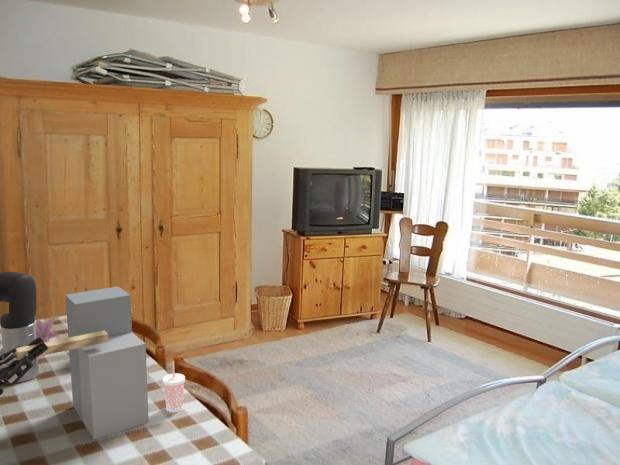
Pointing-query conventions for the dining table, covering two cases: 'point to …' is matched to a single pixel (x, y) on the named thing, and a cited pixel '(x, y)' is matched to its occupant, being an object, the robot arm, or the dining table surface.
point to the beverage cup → (174, 391)
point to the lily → (45, 330)
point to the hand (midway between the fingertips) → (43, 342)
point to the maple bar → (68, 343)
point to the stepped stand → (107, 363)
